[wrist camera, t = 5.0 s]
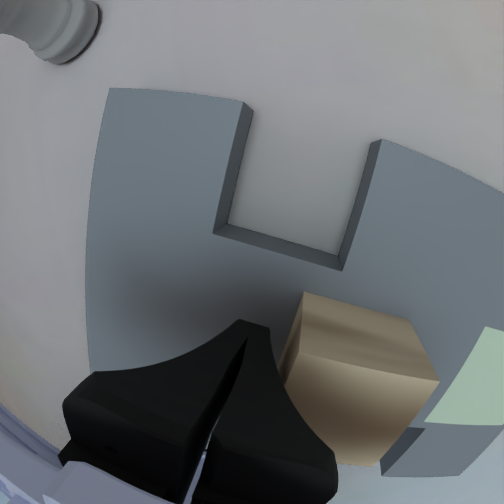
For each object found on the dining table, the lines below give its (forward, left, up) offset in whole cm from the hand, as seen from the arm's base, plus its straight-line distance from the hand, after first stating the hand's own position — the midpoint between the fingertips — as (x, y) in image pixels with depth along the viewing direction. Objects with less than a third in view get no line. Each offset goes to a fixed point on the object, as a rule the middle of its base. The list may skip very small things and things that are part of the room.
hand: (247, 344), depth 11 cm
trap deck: (0, -5, -3) cm, 5 cm away
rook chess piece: (+12, +14, -3) cm, 19 cm away
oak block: (0, -4, -1) cm, 4 cm away
